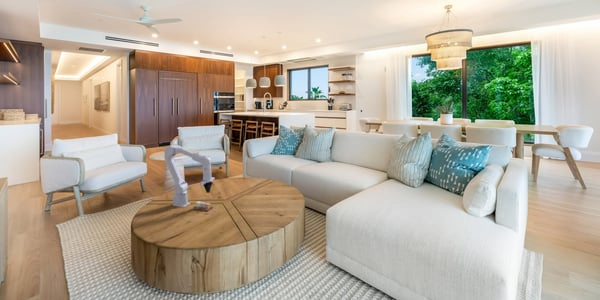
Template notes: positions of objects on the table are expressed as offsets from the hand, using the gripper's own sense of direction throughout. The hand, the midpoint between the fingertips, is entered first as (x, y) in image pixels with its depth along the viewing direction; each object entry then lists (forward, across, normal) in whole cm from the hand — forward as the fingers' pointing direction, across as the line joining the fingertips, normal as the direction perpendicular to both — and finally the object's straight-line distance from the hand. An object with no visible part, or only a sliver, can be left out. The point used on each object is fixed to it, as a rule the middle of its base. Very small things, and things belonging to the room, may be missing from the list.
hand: (207, 192), depth 211 cm
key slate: (+9, -6, 0) cm, 11 cm away
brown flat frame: (+10, -6, 0) cm, 12 cm away
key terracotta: (+9, -6, -4) cm, 11 cm away
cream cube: (+9, -6, +4) cm, 11 cm away
